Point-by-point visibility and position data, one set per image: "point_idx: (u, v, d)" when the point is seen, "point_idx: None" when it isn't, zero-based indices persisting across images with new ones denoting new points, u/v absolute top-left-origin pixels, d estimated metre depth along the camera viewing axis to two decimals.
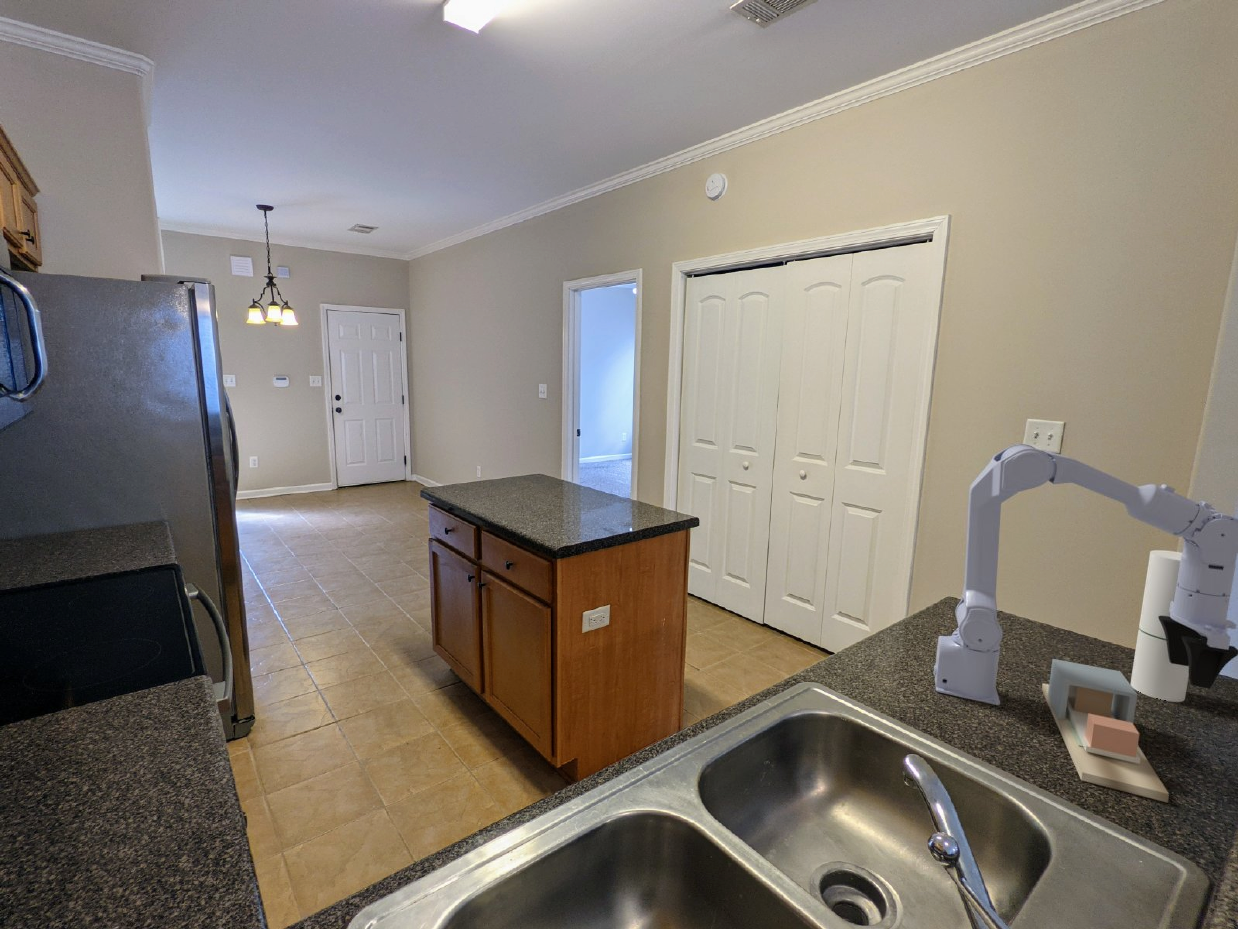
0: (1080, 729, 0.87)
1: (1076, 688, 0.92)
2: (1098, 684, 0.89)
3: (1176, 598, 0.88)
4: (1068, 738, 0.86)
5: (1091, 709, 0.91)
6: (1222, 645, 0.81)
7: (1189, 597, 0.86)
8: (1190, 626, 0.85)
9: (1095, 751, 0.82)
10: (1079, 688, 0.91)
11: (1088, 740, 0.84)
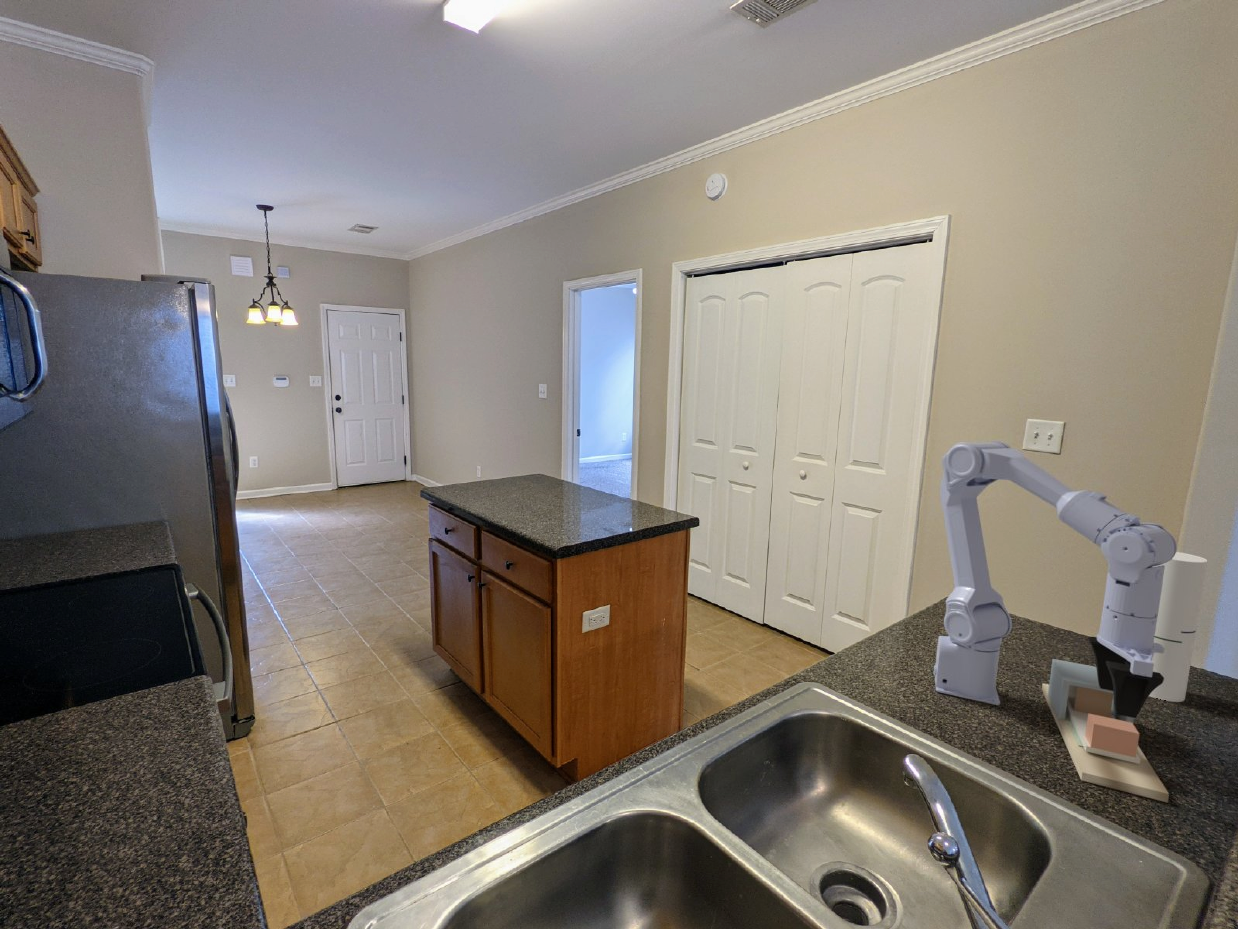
0: (1080, 729, 0.87)
1: (1076, 688, 0.92)
2: (1098, 684, 0.89)
3: (1102, 619, 0.81)
4: (1068, 738, 0.86)
5: (1091, 709, 0.91)
6: (1145, 672, 0.74)
7: (1114, 619, 0.79)
8: (1114, 650, 0.78)
9: (1095, 751, 0.82)
10: (1079, 688, 0.91)
11: (1088, 740, 0.84)
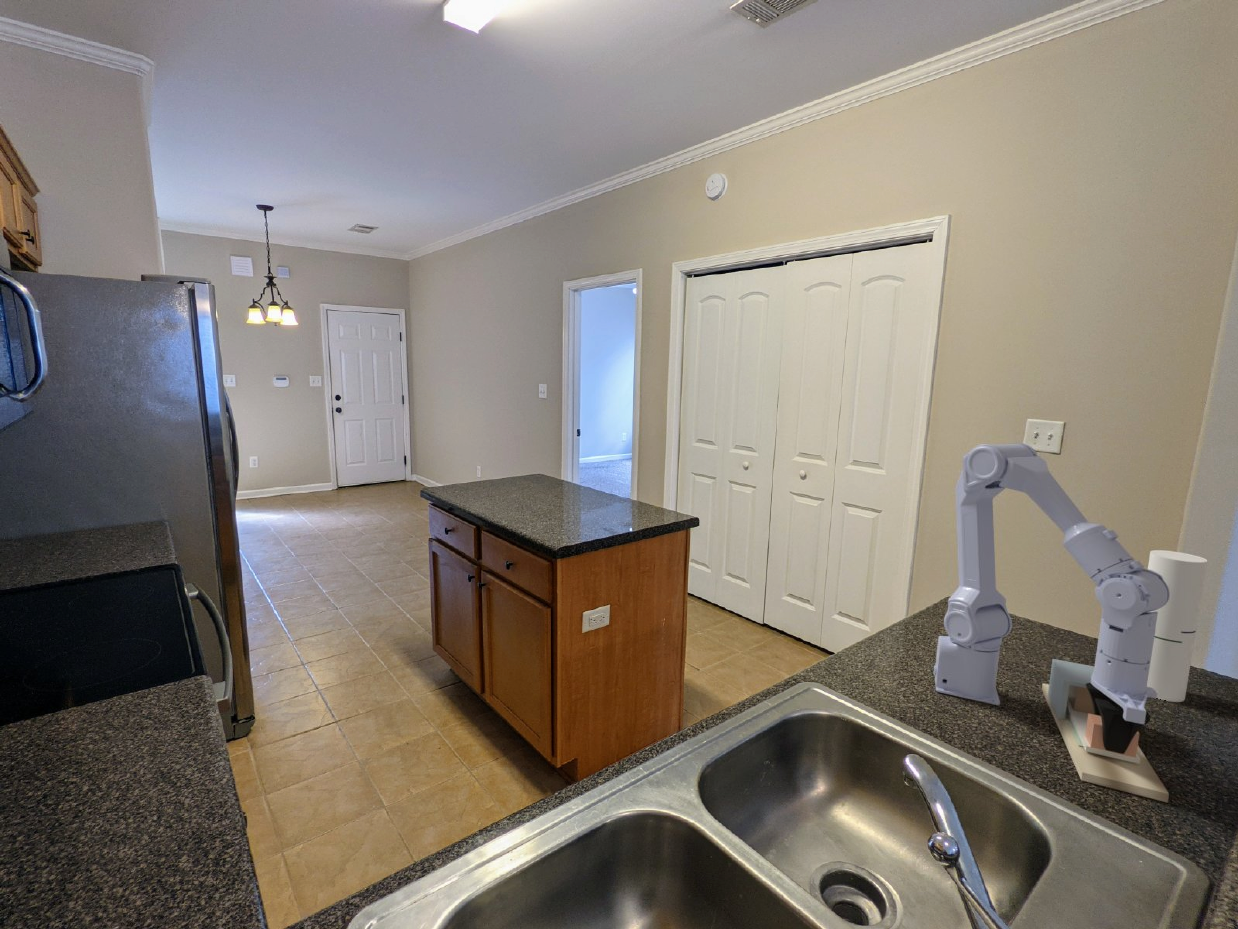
0: (1080, 729, 0.87)
1: (1076, 688, 0.92)
2: None
3: (1096, 663, 0.82)
4: (1068, 738, 0.86)
5: (1091, 709, 0.91)
6: (1137, 719, 0.75)
7: (1108, 663, 0.80)
8: (1108, 695, 0.79)
9: (1095, 751, 0.82)
10: (1079, 688, 0.91)
11: (1088, 740, 0.84)
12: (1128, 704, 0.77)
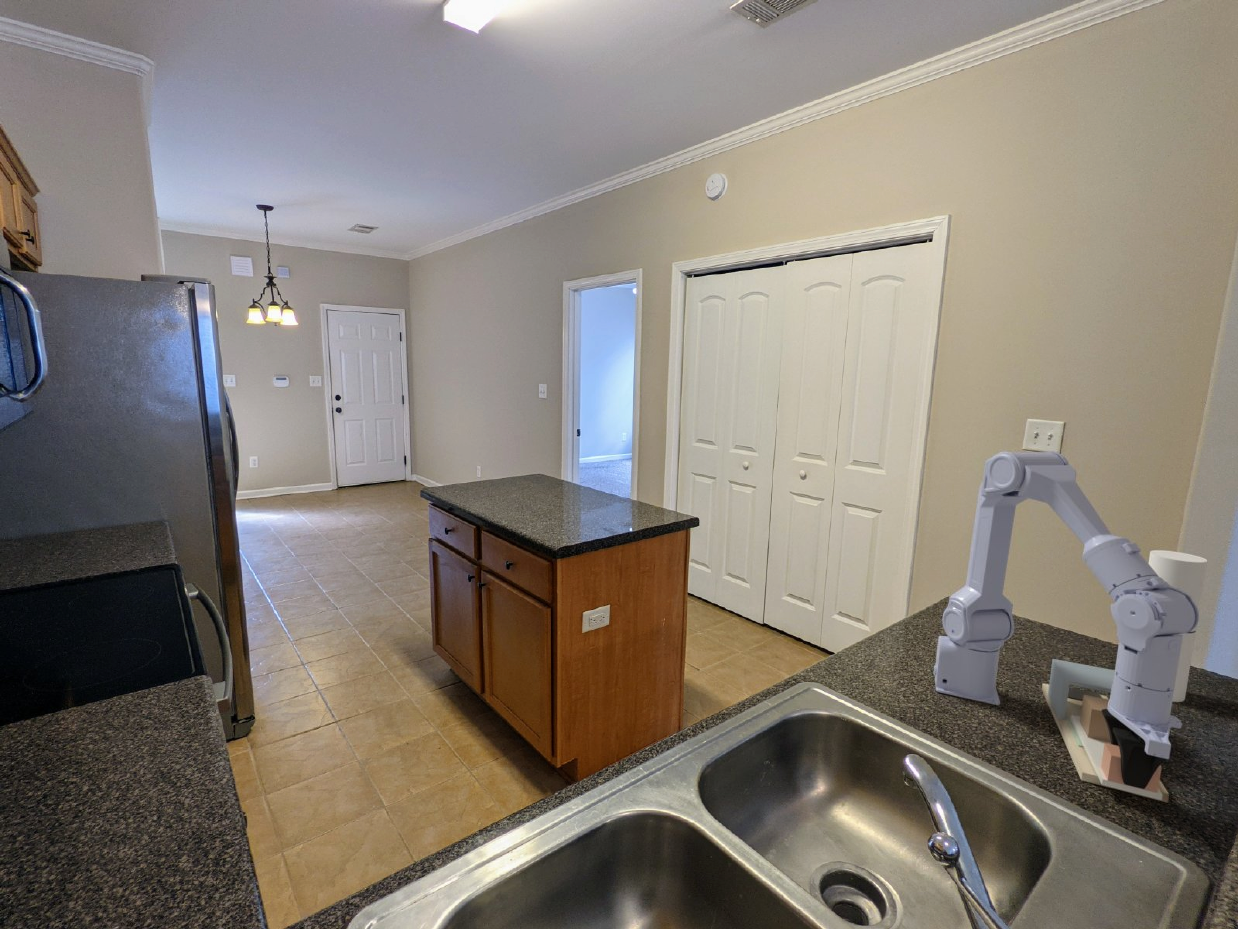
0: (1095, 759, 0.80)
1: (1090, 713, 0.85)
2: (1098, 684, 0.89)
3: (1113, 688, 0.75)
4: (1068, 738, 0.86)
5: (1106, 736, 0.84)
6: (1161, 753, 0.68)
7: (1127, 690, 0.73)
8: (1127, 725, 0.72)
9: (1112, 785, 0.75)
10: (1093, 713, 0.84)
11: (1104, 772, 0.77)
12: (1150, 736, 0.70)
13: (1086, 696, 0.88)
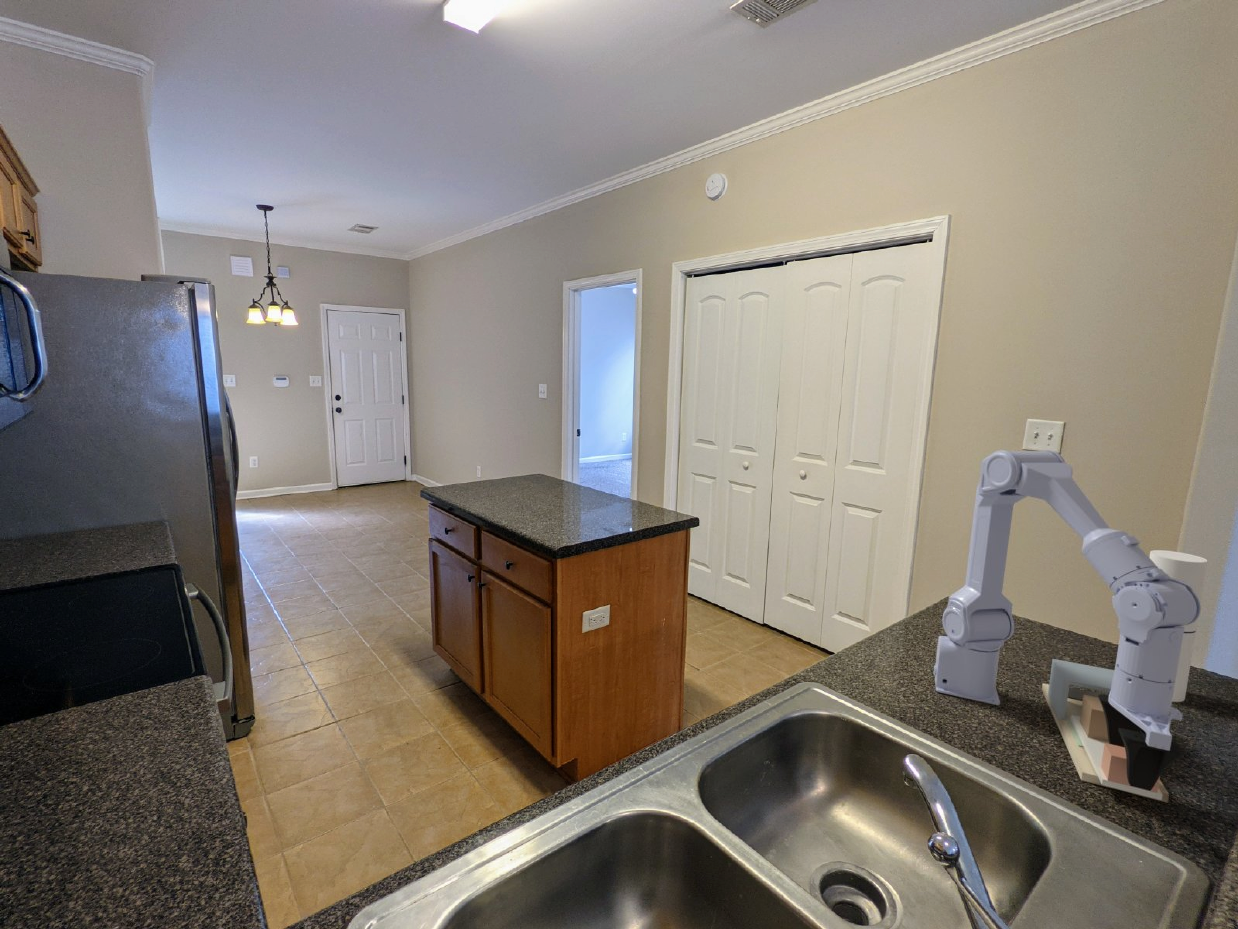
0: (1095, 759, 0.80)
1: (1090, 713, 0.85)
2: (1098, 684, 0.89)
3: (1114, 680, 0.75)
4: (1068, 738, 0.86)
5: (1106, 736, 0.84)
6: (1162, 744, 0.68)
7: (1128, 681, 0.73)
8: (1128, 717, 0.72)
9: (1112, 785, 0.75)
10: (1093, 713, 0.84)
11: (1104, 772, 0.77)
12: (1151, 727, 0.70)
13: (1086, 696, 0.88)
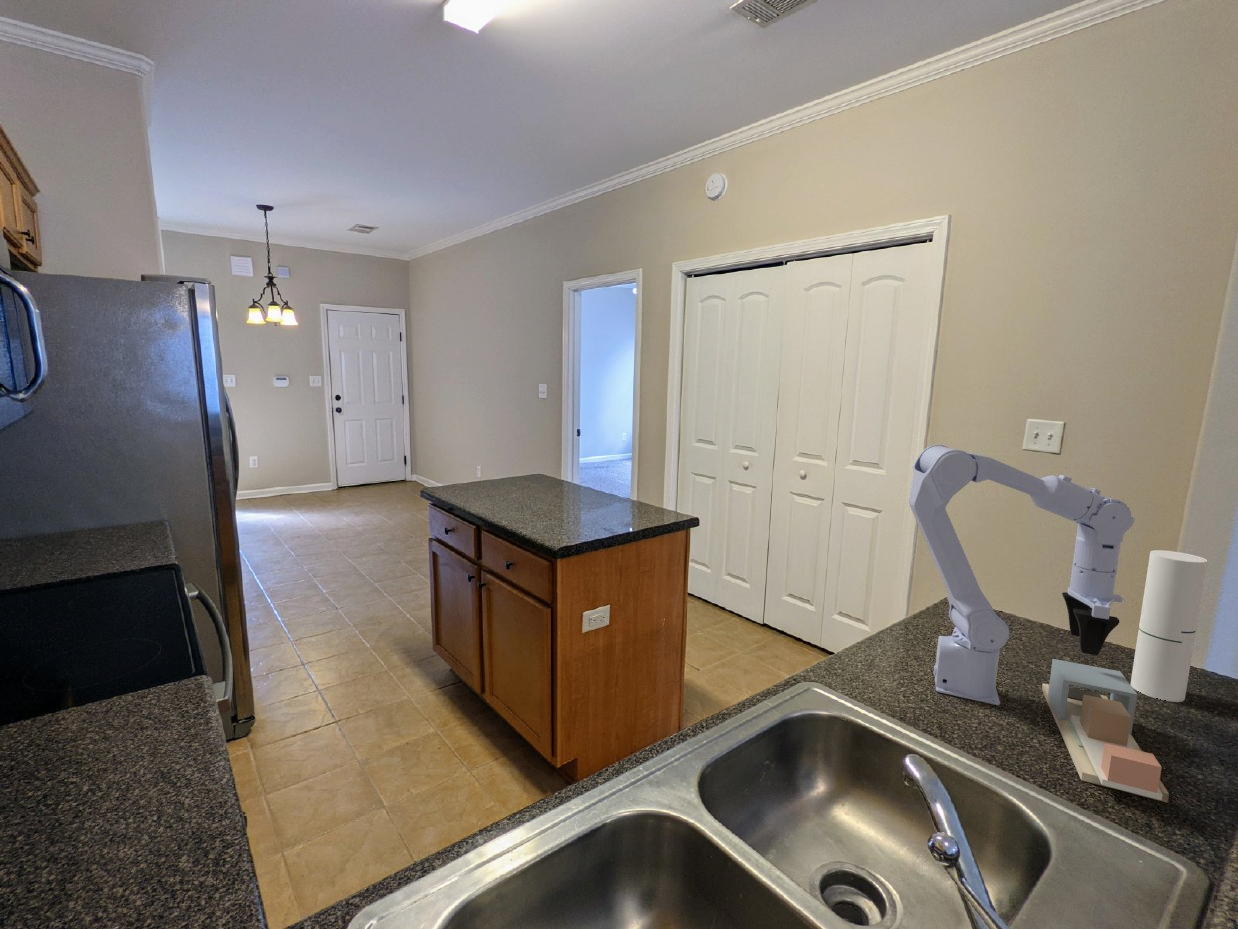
0: (1095, 759, 0.80)
1: (1090, 713, 0.85)
2: (1098, 684, 0.89)
3: (1071, 575, 0.97)
4: (1068, 738, 0.86)
5: (1106, 736, 0.84)
6: (1103, 615, 0.90)
7: (1081, 573, 0.95)
8: (1080, 599, 0.94)
9: (1112, 785, 0.75)
10: (1093, 713, 0.84)
11: (1104, 772, 0.77)
12: (1096, 604, 0.92)
13: (1086, 696, 0.88)
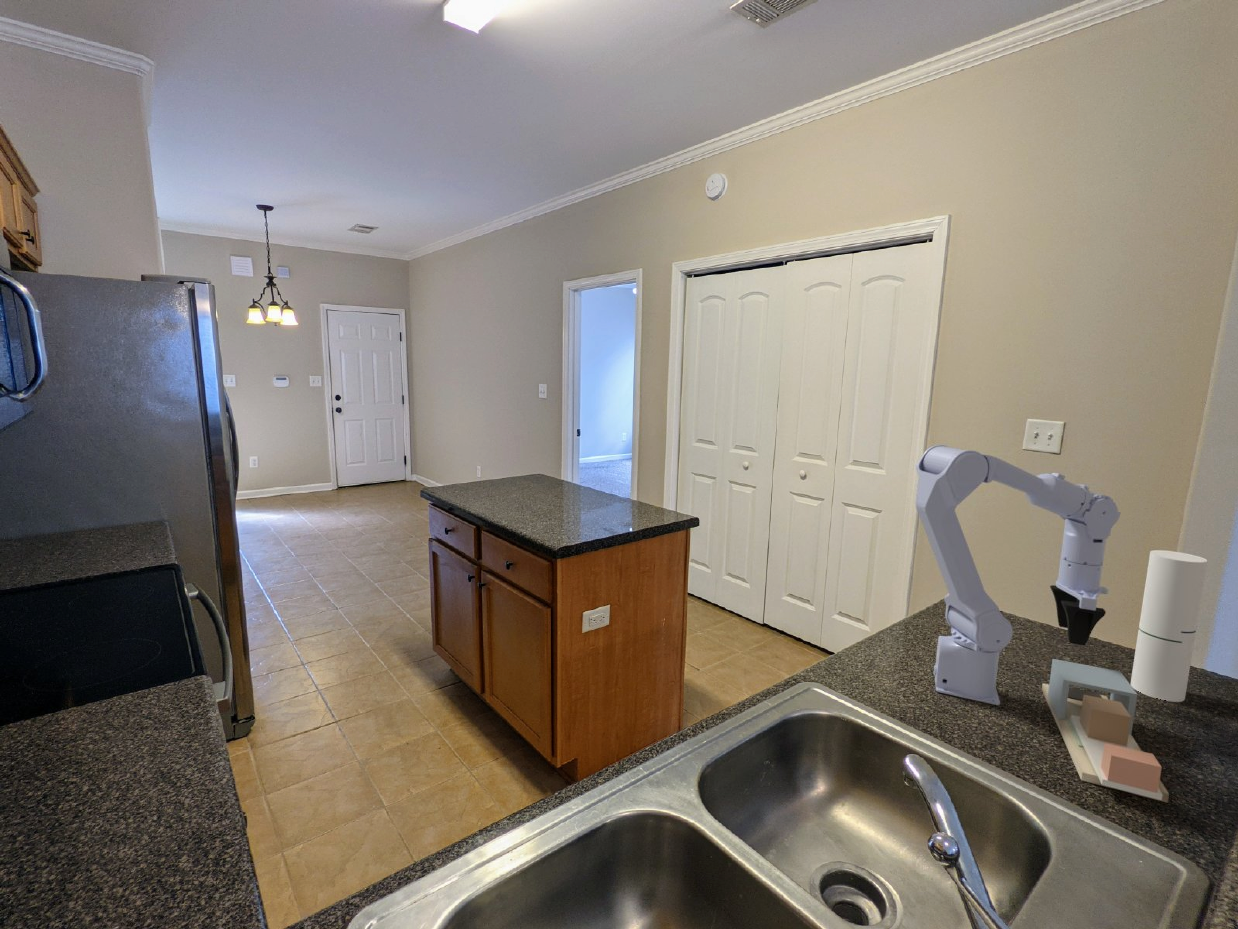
0: (1095, 759, 0.80)
1: (1090, 713, 0.85)
2: (1098, 684, 0.89)
3: (1059, 568, 1.01)
4: (1068, 738, 0.86)
5: (1106, 736, 0.84)
6: (1090, 606, 0.94)
7: (1068, 567, 0.98)
8: (1068, 592, 0.98)
9: (1112, 785, 0.75)
10: (1093, 713, 0.84)
11: (1104, 772, 0.77)
12: (1083, 596, 0.95)
13: (1086, 696, 0.88)
